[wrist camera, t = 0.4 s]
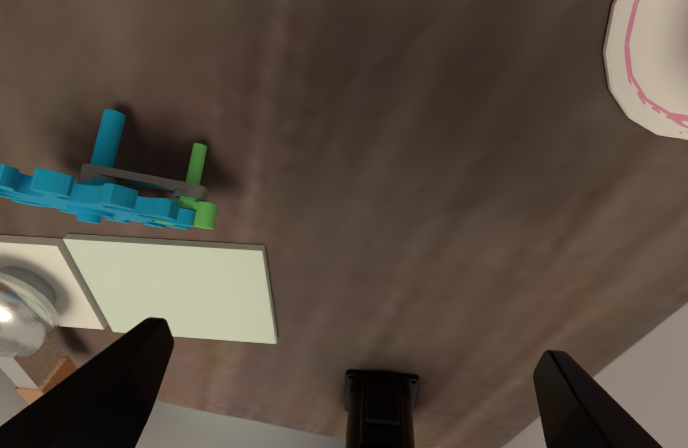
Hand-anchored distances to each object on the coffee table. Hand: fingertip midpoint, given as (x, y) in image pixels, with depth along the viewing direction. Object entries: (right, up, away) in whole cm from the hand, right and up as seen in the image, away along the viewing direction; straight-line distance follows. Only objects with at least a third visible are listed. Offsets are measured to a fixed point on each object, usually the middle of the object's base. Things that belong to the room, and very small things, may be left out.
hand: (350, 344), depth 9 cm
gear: (-14, +5, +16) cm, 21 cm away
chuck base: (-25, -2, +21) cm, 32 cm away
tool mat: (-13, -2, +20) cm, 24 cm away
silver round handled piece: (-25, -5, +21) cm, 33 cm away
